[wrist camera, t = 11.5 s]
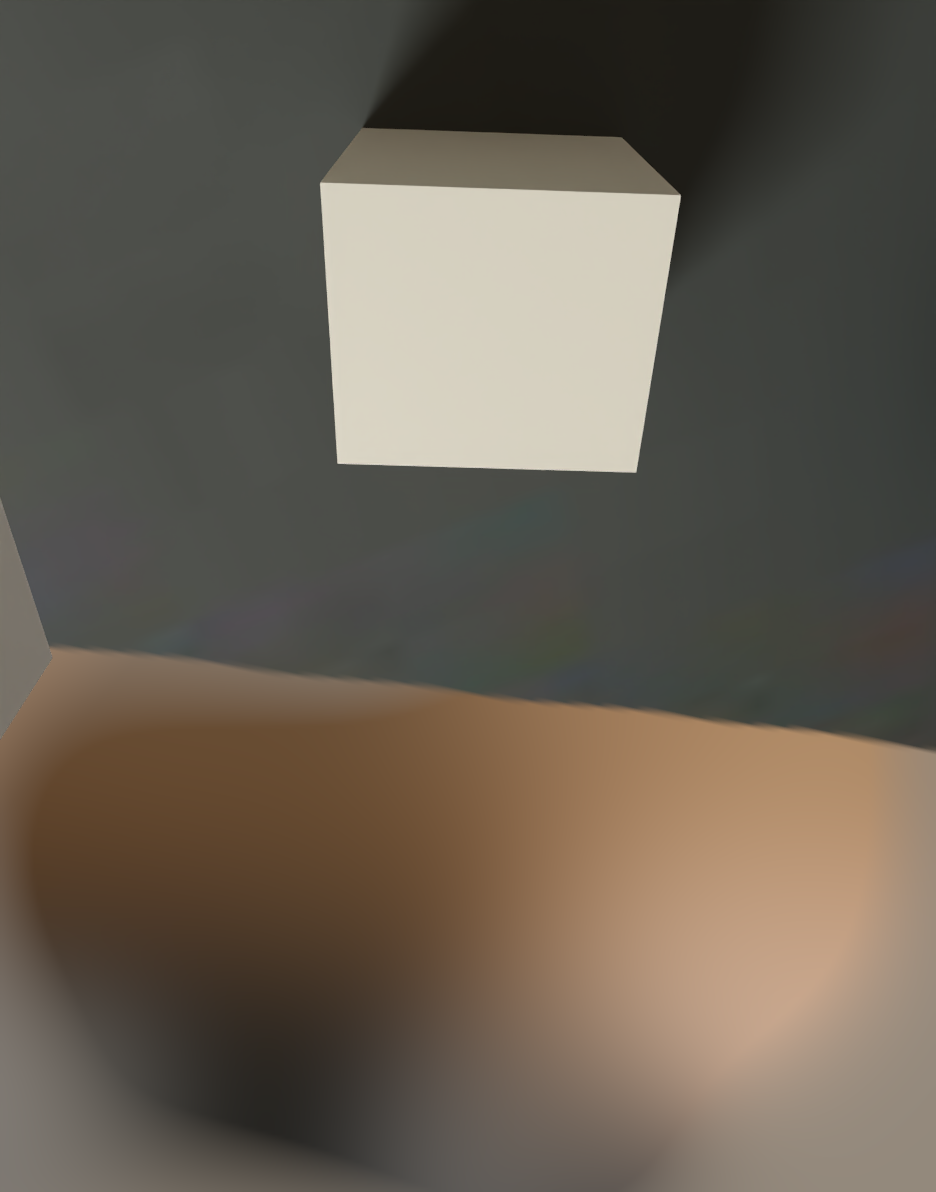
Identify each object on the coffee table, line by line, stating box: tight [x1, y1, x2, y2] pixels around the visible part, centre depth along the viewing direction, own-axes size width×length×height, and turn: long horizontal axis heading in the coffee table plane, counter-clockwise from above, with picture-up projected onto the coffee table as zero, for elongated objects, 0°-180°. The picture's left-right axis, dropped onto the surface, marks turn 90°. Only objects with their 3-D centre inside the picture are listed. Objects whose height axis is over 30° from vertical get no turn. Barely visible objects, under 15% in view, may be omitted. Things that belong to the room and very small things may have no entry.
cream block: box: [320, 128, 681, 472], centre depth 22 cm, size 7×6×8 cm
